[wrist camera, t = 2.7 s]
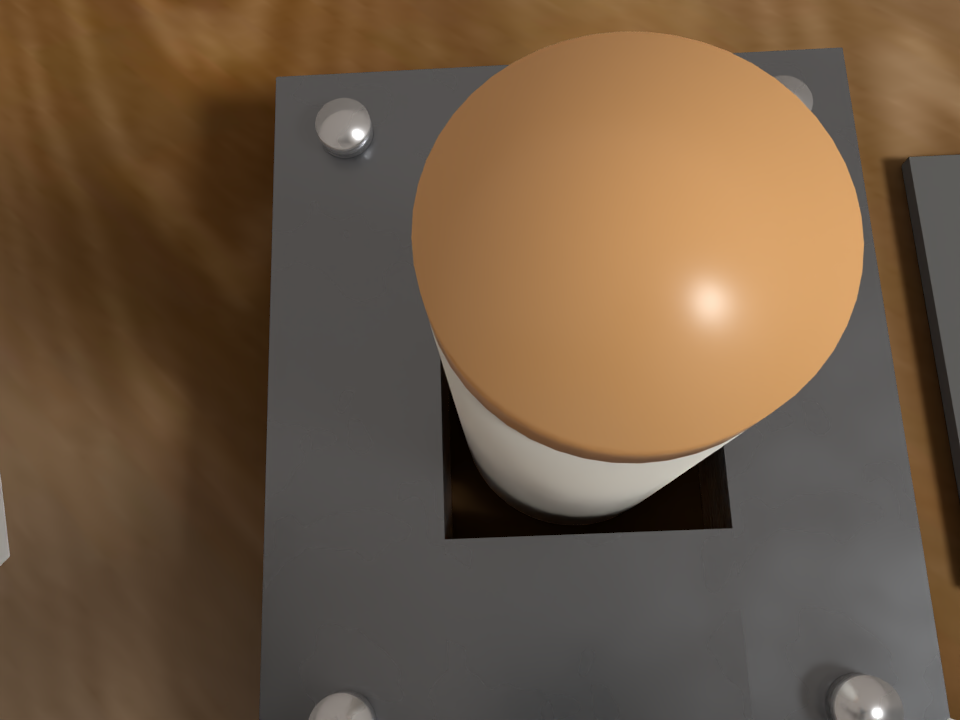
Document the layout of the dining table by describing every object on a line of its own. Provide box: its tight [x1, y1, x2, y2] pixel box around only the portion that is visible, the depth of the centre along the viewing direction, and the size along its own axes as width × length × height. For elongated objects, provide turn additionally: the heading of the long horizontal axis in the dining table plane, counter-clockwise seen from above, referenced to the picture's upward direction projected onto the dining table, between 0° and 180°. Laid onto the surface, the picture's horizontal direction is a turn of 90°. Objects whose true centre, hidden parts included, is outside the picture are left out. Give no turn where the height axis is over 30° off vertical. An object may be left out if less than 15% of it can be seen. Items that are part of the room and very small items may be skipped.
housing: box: [259, 48, 950, 720], centre depth 22 cm, size 15×18×4 cm
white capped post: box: [411, 32, 864, 526], centre depth 18 cm, size 6×6×13 cm
